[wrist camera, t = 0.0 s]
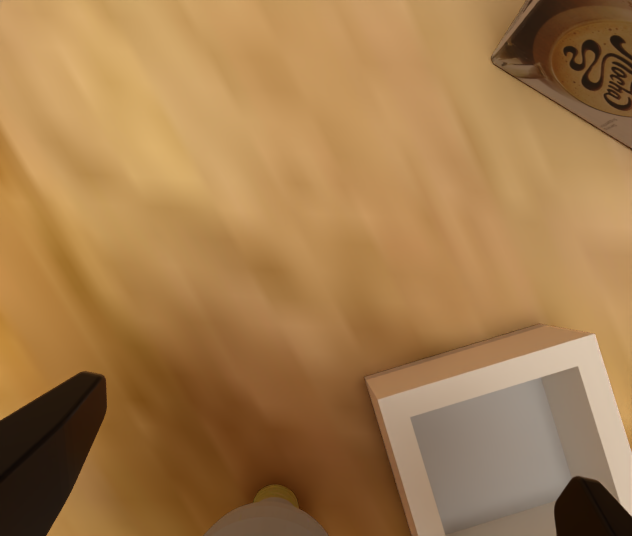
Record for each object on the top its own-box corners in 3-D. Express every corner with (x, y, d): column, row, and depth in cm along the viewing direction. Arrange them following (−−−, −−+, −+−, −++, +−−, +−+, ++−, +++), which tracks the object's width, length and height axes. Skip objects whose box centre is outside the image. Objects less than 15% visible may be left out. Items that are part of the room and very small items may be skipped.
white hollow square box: (594, 501, 25) (663, 554, 20) (417, 556, 24) (444, 623, 20) (539, 323, 25) (595, 333, 20) (364, 377, 25) (377, 399, 20)
